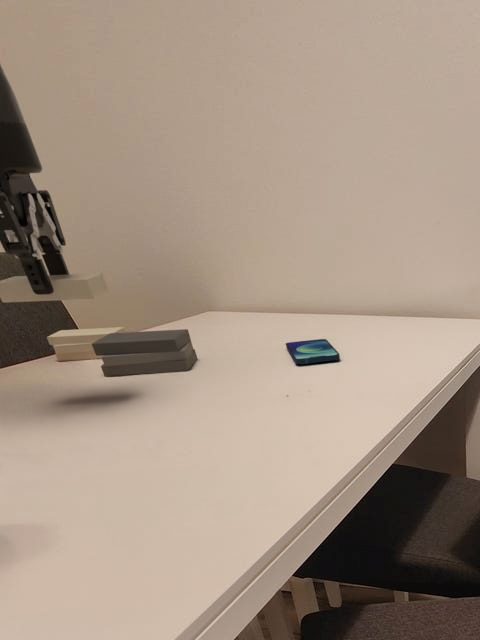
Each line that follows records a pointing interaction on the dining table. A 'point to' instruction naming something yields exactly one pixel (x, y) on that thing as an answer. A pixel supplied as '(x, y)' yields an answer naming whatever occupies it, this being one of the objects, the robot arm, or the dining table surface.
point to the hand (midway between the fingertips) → (54, 289)
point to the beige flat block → (62, 285)
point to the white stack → (78, 342)
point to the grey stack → (145, 352)
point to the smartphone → (312, 351)
